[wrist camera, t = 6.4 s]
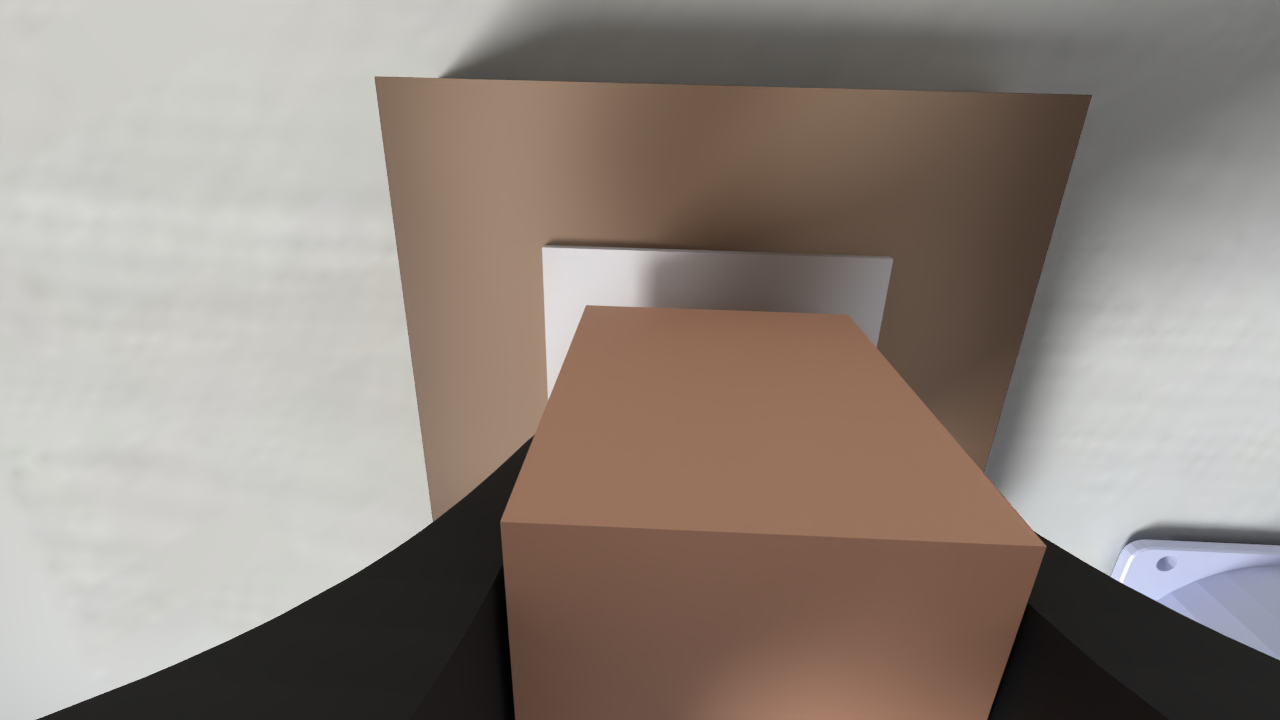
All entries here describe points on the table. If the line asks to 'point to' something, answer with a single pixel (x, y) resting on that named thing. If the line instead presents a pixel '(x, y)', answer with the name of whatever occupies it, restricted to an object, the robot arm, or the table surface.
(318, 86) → the table surface
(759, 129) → the walnut pedestal
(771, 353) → the terracotta cube
